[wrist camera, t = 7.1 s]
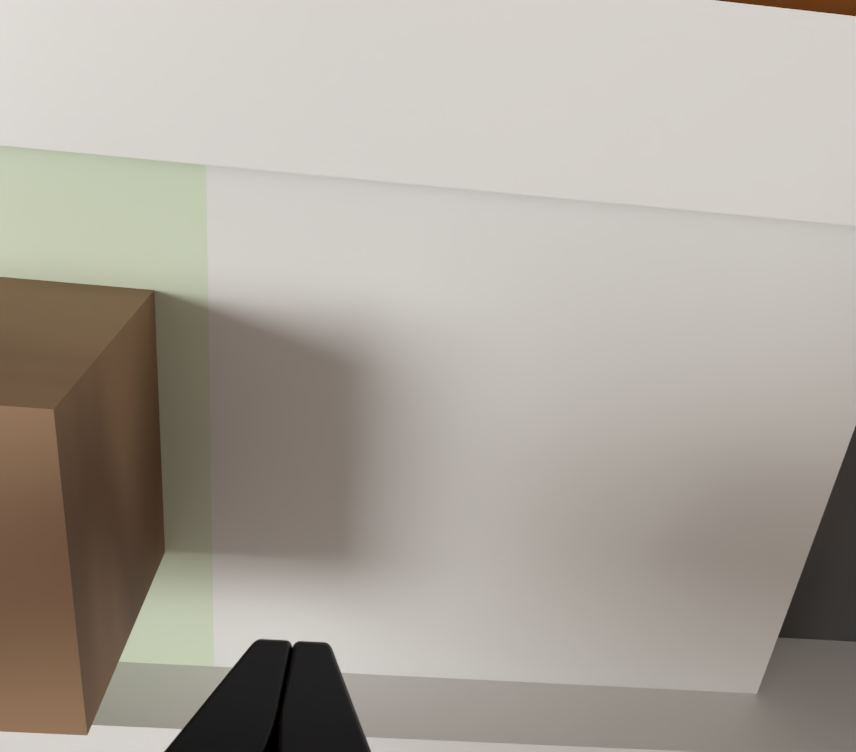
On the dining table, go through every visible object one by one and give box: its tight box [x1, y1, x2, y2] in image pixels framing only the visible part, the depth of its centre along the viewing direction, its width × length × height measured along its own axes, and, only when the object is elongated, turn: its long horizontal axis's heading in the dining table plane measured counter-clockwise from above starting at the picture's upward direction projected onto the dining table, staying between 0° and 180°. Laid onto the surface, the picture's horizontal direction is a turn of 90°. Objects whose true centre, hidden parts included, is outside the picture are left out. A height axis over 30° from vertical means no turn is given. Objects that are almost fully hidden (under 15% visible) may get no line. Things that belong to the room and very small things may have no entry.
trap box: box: [0, 0, 856, 752], centre depth 14 cm, size 15×33×4 cm, turn 84°
